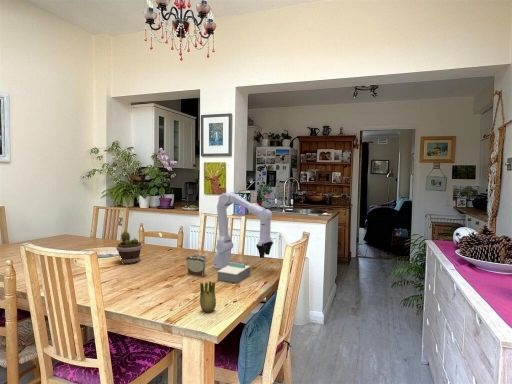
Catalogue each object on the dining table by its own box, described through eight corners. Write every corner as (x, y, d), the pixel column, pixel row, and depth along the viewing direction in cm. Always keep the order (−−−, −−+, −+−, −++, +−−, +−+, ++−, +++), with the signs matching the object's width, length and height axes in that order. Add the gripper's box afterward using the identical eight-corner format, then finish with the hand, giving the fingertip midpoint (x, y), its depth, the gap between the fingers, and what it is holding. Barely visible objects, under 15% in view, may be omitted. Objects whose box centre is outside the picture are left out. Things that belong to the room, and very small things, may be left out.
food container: (211, 274, 176) (211, 256, 175) (204, 277, 170) (204, 259, 169) (192, 271, 181) (192, 253, 180) (185, 274, 175) (185, 256, 175)
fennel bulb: (198, 312, 128) (198, 282, 127) (204, 307, 133) (205, 278, 132) (211, 314, 126) (211, 284, 125) (217, 309, 131) (217, 280, 130)
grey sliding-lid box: (217, 280, 166) (217, 272, 166) (232, 272, 180) (232, 264, 180) (236, 283, 161) (236, 275, 161) (250, 275, 176) (250, 267, 176)
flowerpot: (147, 261, 200) (147, 229, 199) (126, 267, 187) (125, 233, 186) (132, 257, 207) (132, 227, 206) (110, 263, 195) (110, 230, 193)
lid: (217, 272, 166) (217, 267, 165) (232, 264, 180) (232, 259, 180) (236, 275, 161) (236, 270, 161) (250, 266, 176) (250, 262, 175)
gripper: (266, 234, 168) (266, 260, 169) (276, 230, 182) (276, 254, 183) (254, 233, 171) (254, 258, 172) (265, 229, 185) (264, 252, 185)
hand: (264, 256), depth 178 cm, fingers open, 7 cm apart
